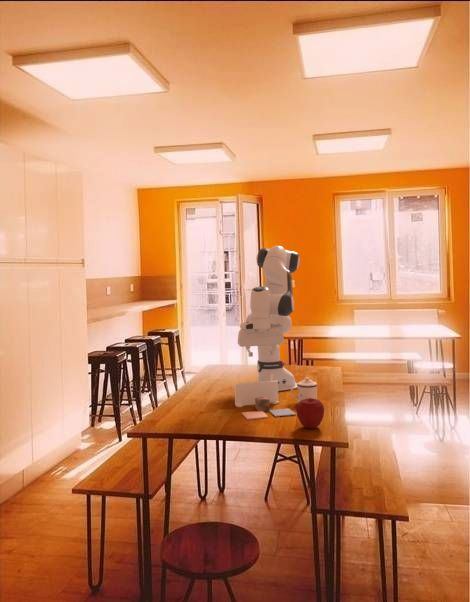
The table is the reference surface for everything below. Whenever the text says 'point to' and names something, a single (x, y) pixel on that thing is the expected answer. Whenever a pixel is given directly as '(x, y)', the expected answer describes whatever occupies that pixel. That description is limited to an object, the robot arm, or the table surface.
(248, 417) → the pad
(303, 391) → the teacup with lid
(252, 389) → the screen
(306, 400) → the apple
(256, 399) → the cube with pink top
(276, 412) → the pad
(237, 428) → the table surface
